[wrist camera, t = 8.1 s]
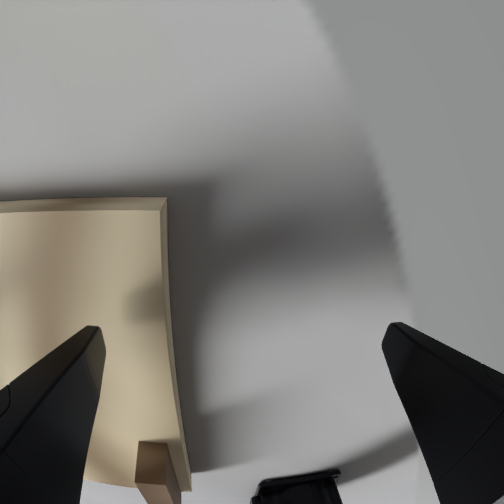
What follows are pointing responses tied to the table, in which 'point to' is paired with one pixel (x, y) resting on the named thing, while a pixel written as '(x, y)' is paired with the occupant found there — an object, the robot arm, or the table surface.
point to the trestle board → (101, 325)
